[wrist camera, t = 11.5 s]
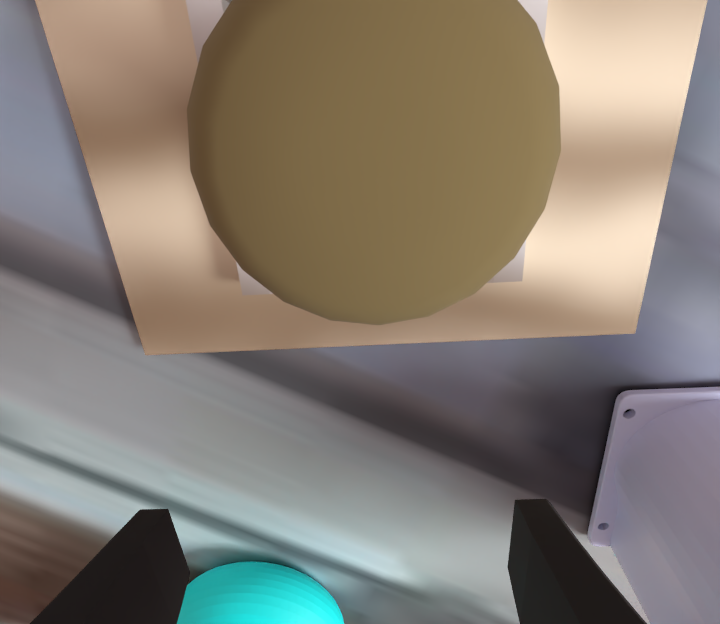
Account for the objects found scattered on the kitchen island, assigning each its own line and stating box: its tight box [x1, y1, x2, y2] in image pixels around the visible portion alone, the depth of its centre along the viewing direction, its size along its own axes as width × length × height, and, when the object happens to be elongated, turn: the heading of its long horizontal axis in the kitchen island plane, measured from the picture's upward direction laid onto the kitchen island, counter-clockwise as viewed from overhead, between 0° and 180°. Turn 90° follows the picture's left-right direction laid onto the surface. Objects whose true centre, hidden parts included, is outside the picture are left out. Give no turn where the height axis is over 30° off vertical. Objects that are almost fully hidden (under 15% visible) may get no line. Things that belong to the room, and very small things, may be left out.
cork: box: [187, 0, 561, 325], centre depth 10 cm, size 6×6×11 cm
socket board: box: [35, 0, 707, 355], centre depth 15 cm, size 16×20×2 cm
